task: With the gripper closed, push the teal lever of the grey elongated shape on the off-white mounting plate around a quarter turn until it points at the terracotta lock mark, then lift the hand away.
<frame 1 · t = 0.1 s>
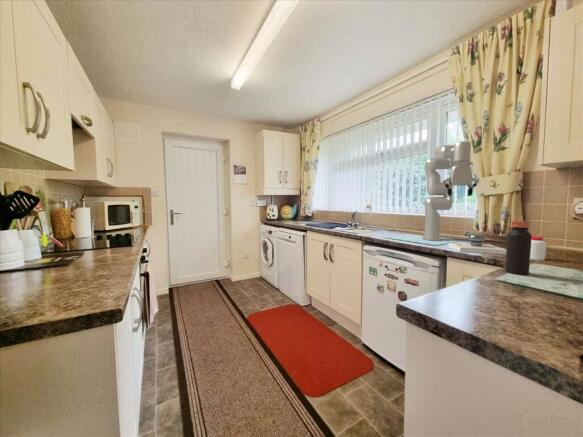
hand: (459, 195, 134), 31 cm above the counter, tool pointing down, fingers open, 9 cm apart
grey elongated shape: (472, 238, 143), point 6 cm above the counter, hinge at 0.0°
vinegar: (516, 273, 93), on the counter
mounting plate: (475, 250, 139), on the counter
pill bottle: (533, 258, 119), on the counter
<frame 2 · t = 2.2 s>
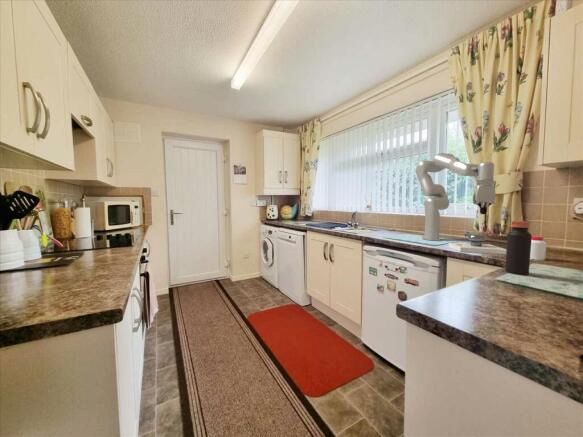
hand: (483, 214, 144), 21 cm above the counter, tool pointing down, fingers closed
nothing on the counter moved.
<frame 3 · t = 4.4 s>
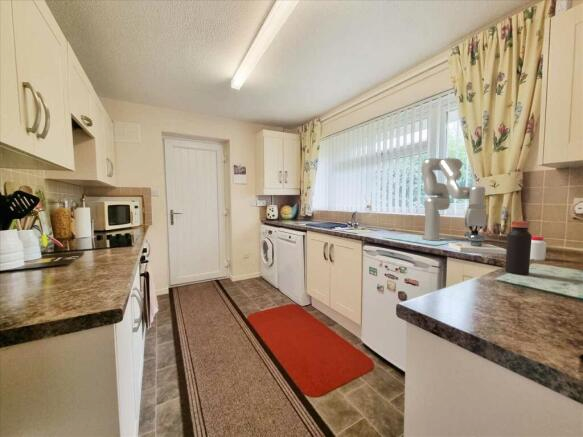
hand: (474, 237, 146), 6 cm above the counter, tool pointing down, fingers closed
grey elongated shape: (472, 238, 143), point 6 cm above the counter, hinge at 0.5°, touching gripper
everything else where it was.
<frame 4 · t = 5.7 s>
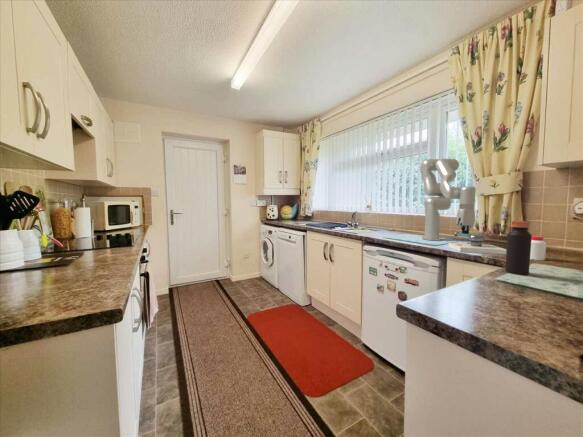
hand: (465, 236, 148), 6 cm above the counter, tool pointing down, fingers closed
grey elongated shape: (468, 238, 143), point 6 cm above the counter, hinge at 31.1°, touching gripper
everything else where it was.
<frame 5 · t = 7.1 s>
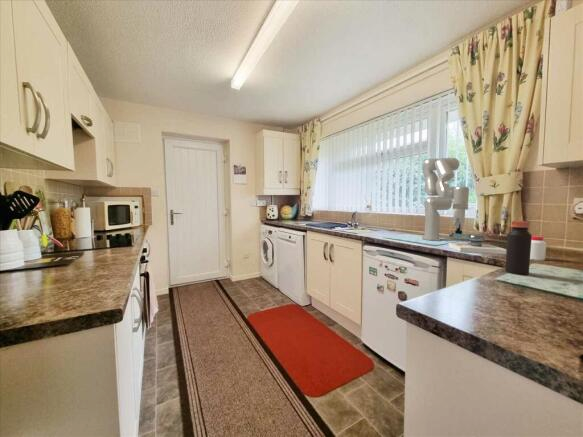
hand: (458, 237, 146), 6 cm above the counter, tool pointing down, fingers closed
grey elongated shape: (466, 239, 141), point 6 cm above the counter, hinge at 62.9°, touching gripper
everything else where it was.
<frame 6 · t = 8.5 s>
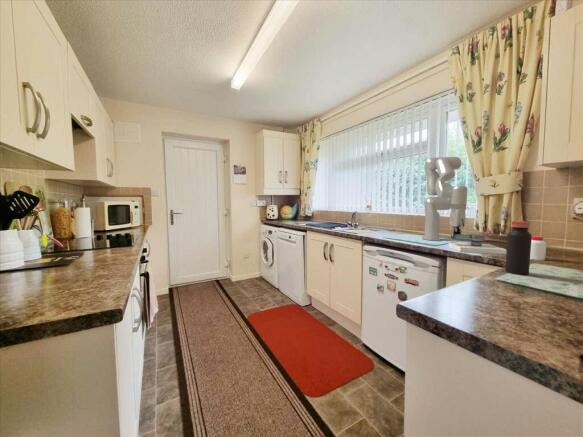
hand: (456, 237, 143), 6 cm above the counter, tool pointing down, fingers closed
grey elongated shape: (467, 239, 139), point 6 cm above the counter, hinge at 93.1°, touching gripper
everything else where it was.
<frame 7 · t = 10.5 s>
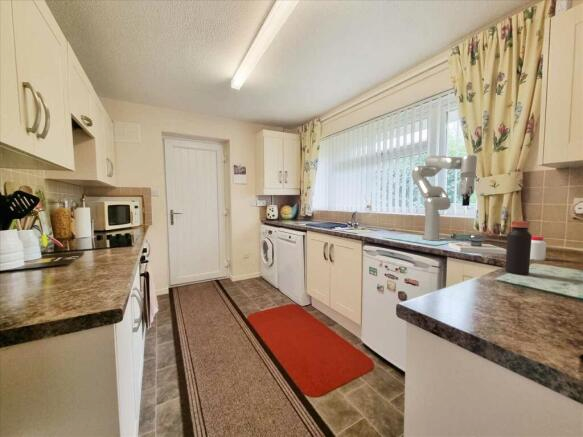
hand: (465, 205, 150), 26 cm above the counter, tool pointing down, fingers closed
grey elongated shape: (467, 239, 139), point 6 cm above the counter, hinge at 93.1°
everything else where it was.
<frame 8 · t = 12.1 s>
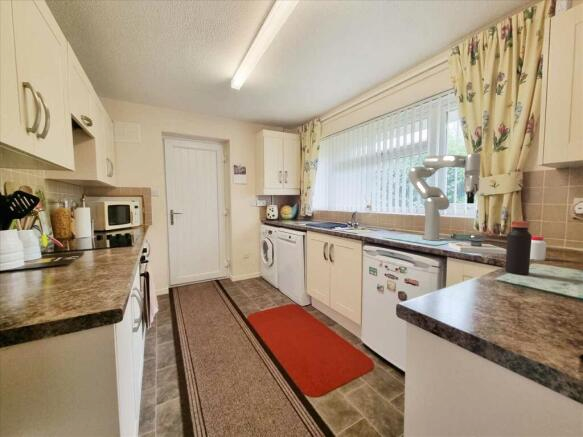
hand: (470, 203, 151), 27 cm above the counter, tool pointing down, fingers closed
nothing on the counter moved.
at the end: grey elongated shape at +93° (first picture: +0°) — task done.
